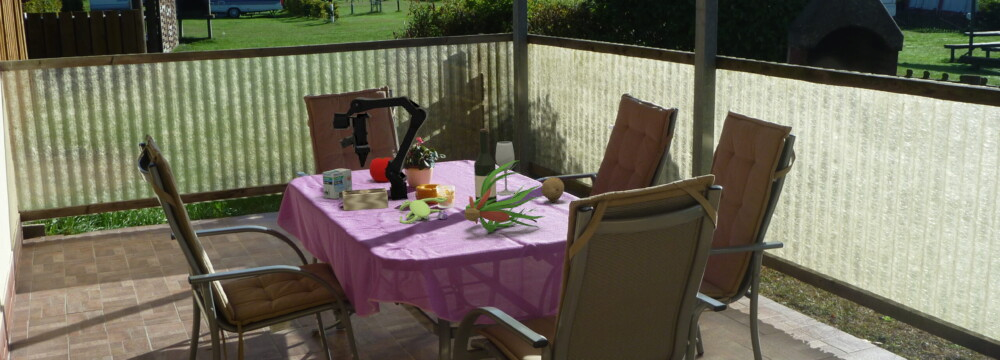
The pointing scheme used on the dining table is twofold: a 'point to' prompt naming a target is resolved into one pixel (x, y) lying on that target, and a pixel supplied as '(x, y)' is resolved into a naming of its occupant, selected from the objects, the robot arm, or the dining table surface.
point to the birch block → (365, 199)
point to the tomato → (379, 168)
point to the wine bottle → (484, 167)
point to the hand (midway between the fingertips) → (362, 167)
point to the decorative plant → (498, 205)
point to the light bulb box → (336, 182)
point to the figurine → (422, 209)
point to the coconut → (552, 189)
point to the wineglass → (502, 154)
